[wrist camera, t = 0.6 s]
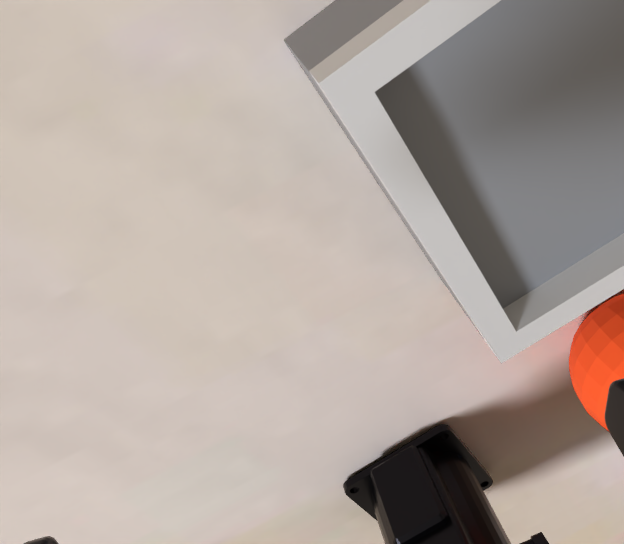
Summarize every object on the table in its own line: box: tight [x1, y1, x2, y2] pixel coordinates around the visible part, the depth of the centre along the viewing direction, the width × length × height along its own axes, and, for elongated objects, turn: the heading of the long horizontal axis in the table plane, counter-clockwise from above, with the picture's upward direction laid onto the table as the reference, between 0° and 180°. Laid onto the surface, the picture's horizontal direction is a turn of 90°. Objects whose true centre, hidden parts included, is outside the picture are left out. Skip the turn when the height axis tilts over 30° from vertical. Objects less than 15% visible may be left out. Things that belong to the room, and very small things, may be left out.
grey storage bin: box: [284, 0, 624, 363], centre depth 18 cm, size 12×12×5 cm
